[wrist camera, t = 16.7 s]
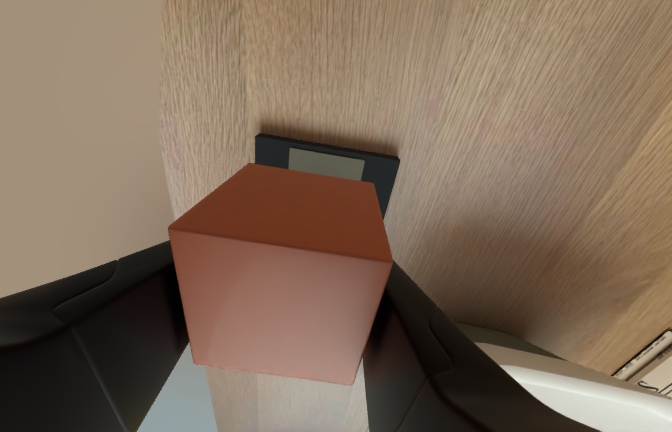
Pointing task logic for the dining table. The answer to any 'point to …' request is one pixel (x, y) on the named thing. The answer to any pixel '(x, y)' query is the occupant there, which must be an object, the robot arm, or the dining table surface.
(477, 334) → the bowl
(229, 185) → the reddish brown cube
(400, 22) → the dining table surface
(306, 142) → the word board
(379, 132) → the dining table surface
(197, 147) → the dining table surface
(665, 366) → the newspaper
